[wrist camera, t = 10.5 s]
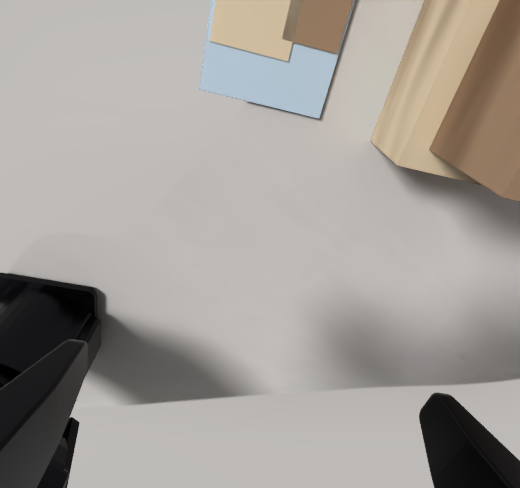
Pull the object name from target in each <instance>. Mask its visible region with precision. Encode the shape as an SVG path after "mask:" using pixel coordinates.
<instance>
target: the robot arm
mask: <svg viewBox="0 0 520 488" xmlns="http://www.w3.org/2000/svg"><path fill="white" fill-rule="evenodd" d="M86 294H88V295H89V296H87V295H86ZM100 345H101V320H100V318H99V317H97V293H96V291H95V290H94V289H92V288H90V287H84V286H78V285H72V284H66V283H60V282H54V281H48V280H42V279H36V278H30V277H24V276H18V275H12V274H6V273H0V488H67V484H68V479H69V474H70V469H71V463H72V458H73V453H74V448H75V443H76V438H77V433H78V427H79V422H78V421H77V420H75V419H74V418H72V417H71V418H69V417H70V415H71V412H72V409H73V407H74V404H75V402H76V399H77V396H78V394H79V391H80V388H81V386H82V383H83V380H84V378H85V376H86V374H87V372H88V370H89V368H90V366H91V364H92V362H93V360H94V359H95V357H96V354H97V352H98V350H99V348H100ZM419 418H420V424H421V429H422V434H423V439H424V443H425V448H426V453H427V457H428V463H429V467H430V472H431V476H432V480H433V484H434V488H520V461H519V460H518V459H517V458H516V457H515V456H514V455H513V454H512V453H511V452H510V451H509V450H508V449H507V448H506V447H505V446H503V444H501V443H500V442H499V441H498V440H497V439H496V438H495V437H494V436H493V435H492V434H491V433H490V432H489V431H488V430H487V429H486V428H485V427H484V426H483V425H482V424H481V423H479V422H478V421H477V420H476V419H475V418H474V417H473V416H472V415H471V414H470V413H469V412H468V411H467V410H466V409H465V408H464V407H463V406H462V405H461V404H460V403H459V402H458V401H456V400H455V399H454V398H453V397H452V396H451V395H448V394H443V393H434V394H432V395H431V397H430V398H429V399H428V401H427V402H426V404H425V405H424V406H423V407H422V409H421V411H420V415H419Z"/></svg>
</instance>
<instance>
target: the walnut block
mask: <svg viewBox="0 0 520 488" xmlns="http://www.w3.org/2000/svg"><path fill="white" fill-rule="evenodd" d="M429 150H431V151H432V152H434V153H435V154H437V155H438V156H440V157H441V158H443V159H444V160H446V161H447V162H449V163H450V164H452V165H453V166H455V167H456V168H458V169H459V170H461V171H462V172H464V173H466V174H467V175H469V176H470V177H472V178H473V179H475V180H476V181H478V182H479V183H481V184H482V185H484V186H485V187H487V188H488V189H490V190H491V191H493V192H494V193H496V194H497V195H499V196H500V197H503V198H507V199H512V200H516V201H520V0H499V2H498V4H497V7H496V9H495V11H494V13H493V15H492V17H491V19H490V21H489V23H488V26H487V28H486V30H485V32H484V34H483V36H482V38H481V40H480V42H479V45H478V47H477V49H476V51H475V53H474V55H473V57H472V59H471V61H470V64H469V66H468V68H467V70H466V72H465V74H464V76H463V78H462V81H461V83H460V85H459V87H458V89H457V91H456V93H455V95H454V97H453V100H452V102H451V104H450V106H449V108H448V110H447V112H446V114H445V116H444V119H443V121H442V123H441V125H440V127H439V129H438V131H437V133H436V135H435V138H434V140H433V142H432V144H431V146H430V148H429Z"/></svg>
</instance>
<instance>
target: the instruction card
mask: <svg viewBox="0 0 520 488" xmlns="http://www.w3.org/2000/svg"><path fill="white" fill-rule="evenodd" d="M354 2H355V0H211V5H210V13H209V20H208V28H207V35H206V43H205V51H204V58H203V66H202V73H201V81H200V88H199V89H200V90H204V91H208V92H212V93H216V94H220V95H224V96H228V97H232V98H236V99H241V100H245V101H249V102H253V103H257V104H261V105H265V106H269V107H273V108H278V109H282V110H286V111H290V112H294V113H298V114H302V115H306V116H310V117H315V118H320V114H321V111H322V108H323V105H324V101H325V98H326V95H327V91H328V88H329V85H330V81H331V78H332V75H333V72H334V68H335V65H336V62H337V58H338V55H339V52H340V49H341V45H342V42H343V39H344V35H345V32H346V29H347V26H348V22H349V19H350V16H351V12H352V9H353V6H354Z"/></svg>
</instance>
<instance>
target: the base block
mask: <svg viewBox="0 0 520 488" xmlns="http://www.w3.org/2000/svg"><path fill="white" fill-rule="evenodd" d="M498 2H499V0H425V1H424V4H423V6H422V9H421V12H420V14H419V17H418V19H417V22H416V24H415V27H414V30H413V32H412V35H411V37H410V40H409V43H408V45H407V48H406V50H405V53H404V56H403V58H402V61H401V63H400V66H399V68H398V71H397V74H396V76H395V79H394V81H393V84H392V87H391V89H390V92H389V94H388V97H387V100H386V102H385V105H384V107H383V110H382V112H381V115H380V118H379V120H378V123H377V125H376V128H375V131H374V133H373V136H372V138H371V142H372V143H373V144H374V145H375V146H377V147H378V148H379V149H380V150H381V151H382V152H383V153H384V154H385V155H386V156H387V157H389V158H390V159H391V160H392V161H393V162H394V163H395V164H396V165H397V166H402V167H406V168H410V169H415V170H419V171H423V172H428V173H432V174H436V175H440V176H445V177H449V178H453V179H458V180H462V181H466V182H471V183H475V184H479V185H482V184H481V183H479V182H478V181H476V180H475V179H473V178H472V177H470V176H469V175H467V174H466V173H464V172H462V171H461V170H459V169H458V168H456V167H455V166H453V165H452V164H450V163H449V162H447V161H446V160H444V159H443V158H441V157H440V156H438V155H437V154H435V153H434V152H432V151H431V150H429V148H430V146H431V144H432V142H433V140H434V138H435V135H436V133H437V131H438V129H439V127H440V125H441V123H442V121H443V119H444V116H445V114H446V112H447V110H448V108H449V106H450V104H451V102H452V100H453V97H454V95H455V93H456V91H457V89H458V87H459V85H460V83H461V81H462V78H463V76H464V74H465V72H466V70H467V68H468V66H469V64H470V61H471V59H472V57H473V55H474V53H475V51H476V49H477V47H478V45H479V42H480V40H481V38H482V36H483V34H484V32H485V30H486V28H487V26H488V23H489V21H490V19H491V17H492V15H493V13H494V11H495V9H496V7H497V4H498ZM483 186H484V185H483Z"/></svg>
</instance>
